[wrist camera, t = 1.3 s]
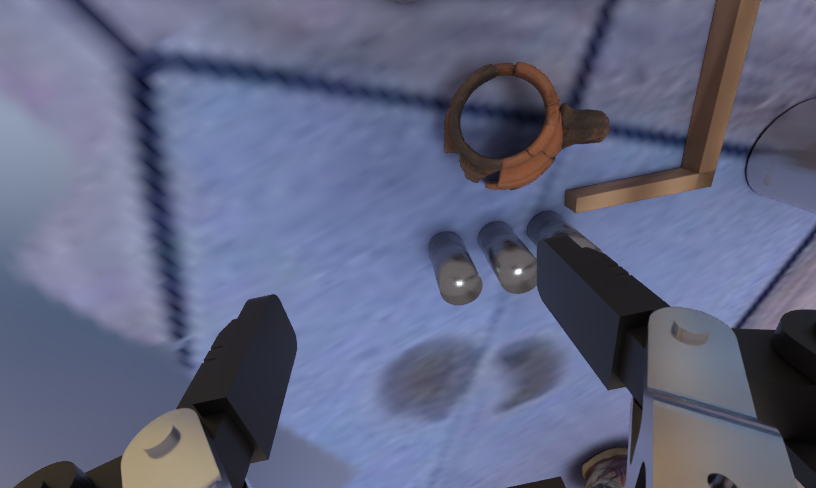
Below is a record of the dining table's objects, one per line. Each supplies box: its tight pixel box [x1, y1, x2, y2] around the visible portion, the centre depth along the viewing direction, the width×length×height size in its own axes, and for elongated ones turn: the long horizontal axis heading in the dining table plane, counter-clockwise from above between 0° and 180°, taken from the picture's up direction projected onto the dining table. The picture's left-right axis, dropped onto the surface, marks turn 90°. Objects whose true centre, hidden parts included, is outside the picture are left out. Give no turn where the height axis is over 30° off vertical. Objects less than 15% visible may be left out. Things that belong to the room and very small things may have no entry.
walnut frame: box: [565, 0, 761, 213], centre depth 27 cm, size 12×18×2 cm
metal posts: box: [394, 0, 602, 305], centre depth 25 cm, size 14×26×7 cm, turn 10°
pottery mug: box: [444, 62, 610, 190], centre depth 26 cm, size 12×10×8 cm
